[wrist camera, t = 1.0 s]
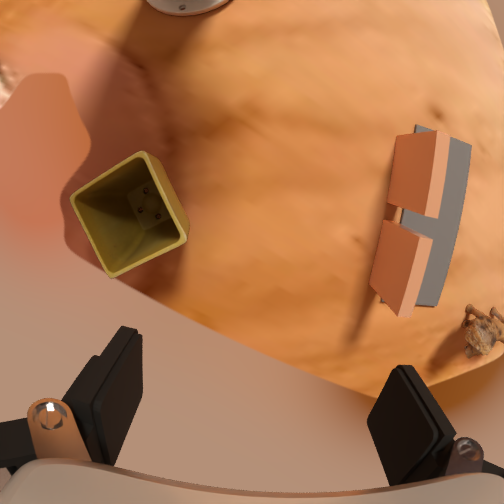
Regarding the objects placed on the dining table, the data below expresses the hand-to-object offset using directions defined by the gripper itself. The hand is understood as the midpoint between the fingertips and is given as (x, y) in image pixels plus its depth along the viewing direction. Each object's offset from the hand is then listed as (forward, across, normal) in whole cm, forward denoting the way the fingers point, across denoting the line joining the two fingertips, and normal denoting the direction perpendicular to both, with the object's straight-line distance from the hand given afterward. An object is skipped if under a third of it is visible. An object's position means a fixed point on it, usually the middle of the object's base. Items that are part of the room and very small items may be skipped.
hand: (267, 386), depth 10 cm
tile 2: (+26, -15, -10) cm, 31 cm away
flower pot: (+26, +12, -1) cm, 28 cm away
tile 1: (+25, -15, 0) cm, 30 cm away
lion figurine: (+26, -36, +7) cm, 45 cm away
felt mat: (+25, -21, -5) cm, 33 cm away
